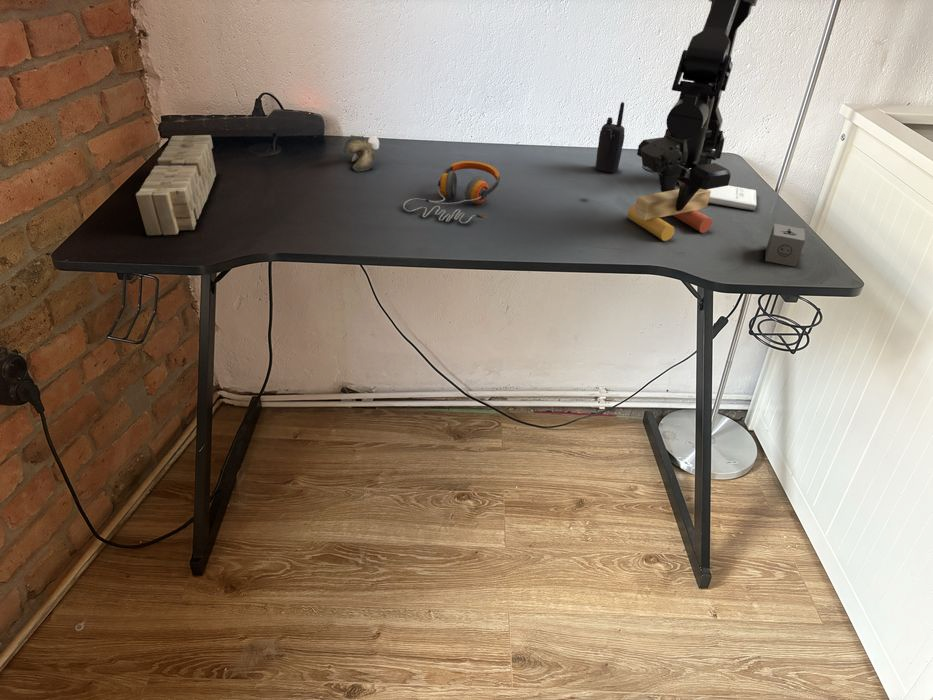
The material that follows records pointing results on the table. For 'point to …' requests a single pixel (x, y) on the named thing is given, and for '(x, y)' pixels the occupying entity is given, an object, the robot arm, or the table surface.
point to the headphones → (474, 189)
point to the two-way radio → (610, 144)
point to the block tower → (177, 186)
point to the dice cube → (785, 245)
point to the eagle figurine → (361, 151)
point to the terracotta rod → (695, 220)
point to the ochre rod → (653, 225)
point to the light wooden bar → (668, 204)
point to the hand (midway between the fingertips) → (671, 206)
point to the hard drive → (733, 197)
